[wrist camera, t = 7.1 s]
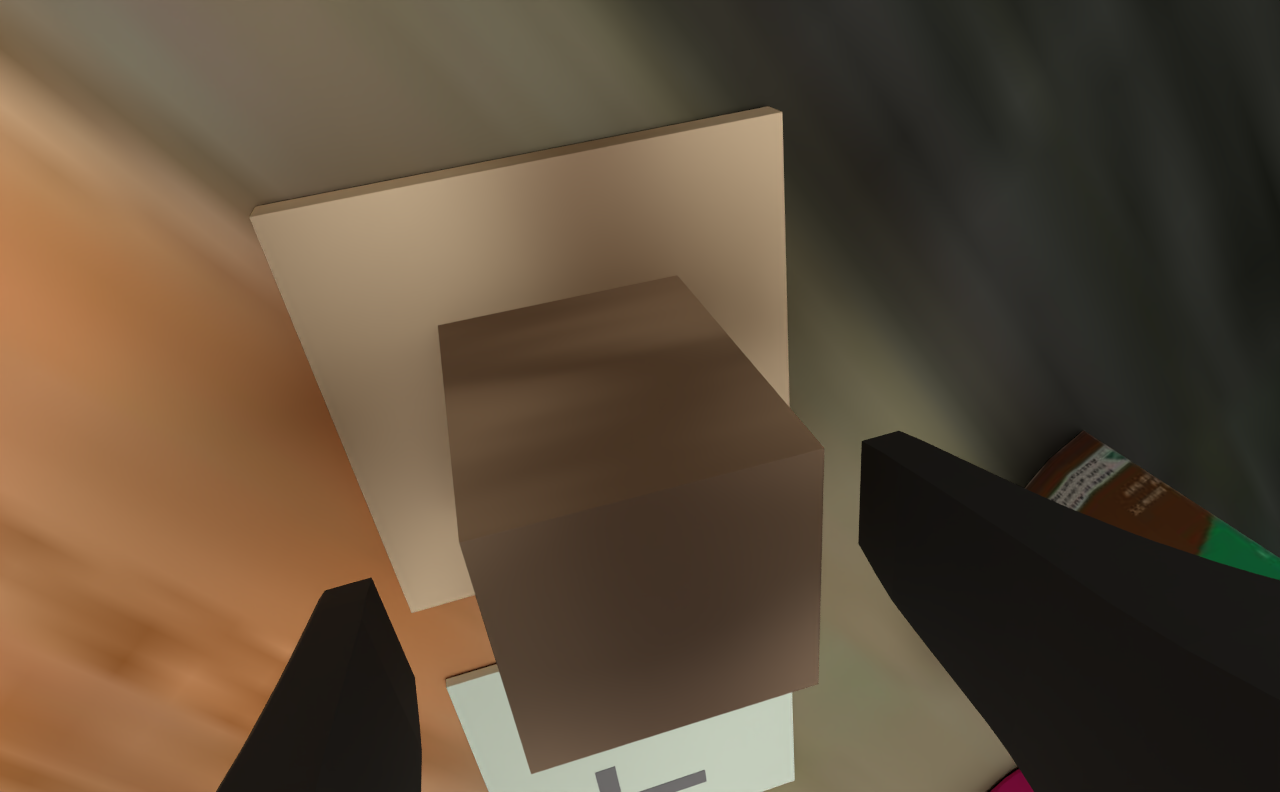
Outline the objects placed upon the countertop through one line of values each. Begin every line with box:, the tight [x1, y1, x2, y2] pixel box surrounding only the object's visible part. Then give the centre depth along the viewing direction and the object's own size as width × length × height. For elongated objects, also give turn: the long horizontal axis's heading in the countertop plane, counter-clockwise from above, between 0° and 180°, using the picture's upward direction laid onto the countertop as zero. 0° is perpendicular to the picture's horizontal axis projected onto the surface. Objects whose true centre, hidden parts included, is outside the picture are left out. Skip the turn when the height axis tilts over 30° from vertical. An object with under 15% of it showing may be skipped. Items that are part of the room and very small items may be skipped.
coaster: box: [249, 106, 790, 613], centre depth 15 cm, size 9×9×1 cm
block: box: [438, 275, 824, 774], centre depth 13 cm, size 4×4×6 cm
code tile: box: [446, 664, 795, 792], centre depth 22 cm, size 9×9×1 cm
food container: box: [1025, 430, 1280, 580], centre depth 19 cm, size 12×6×10 cm, turn 38°
